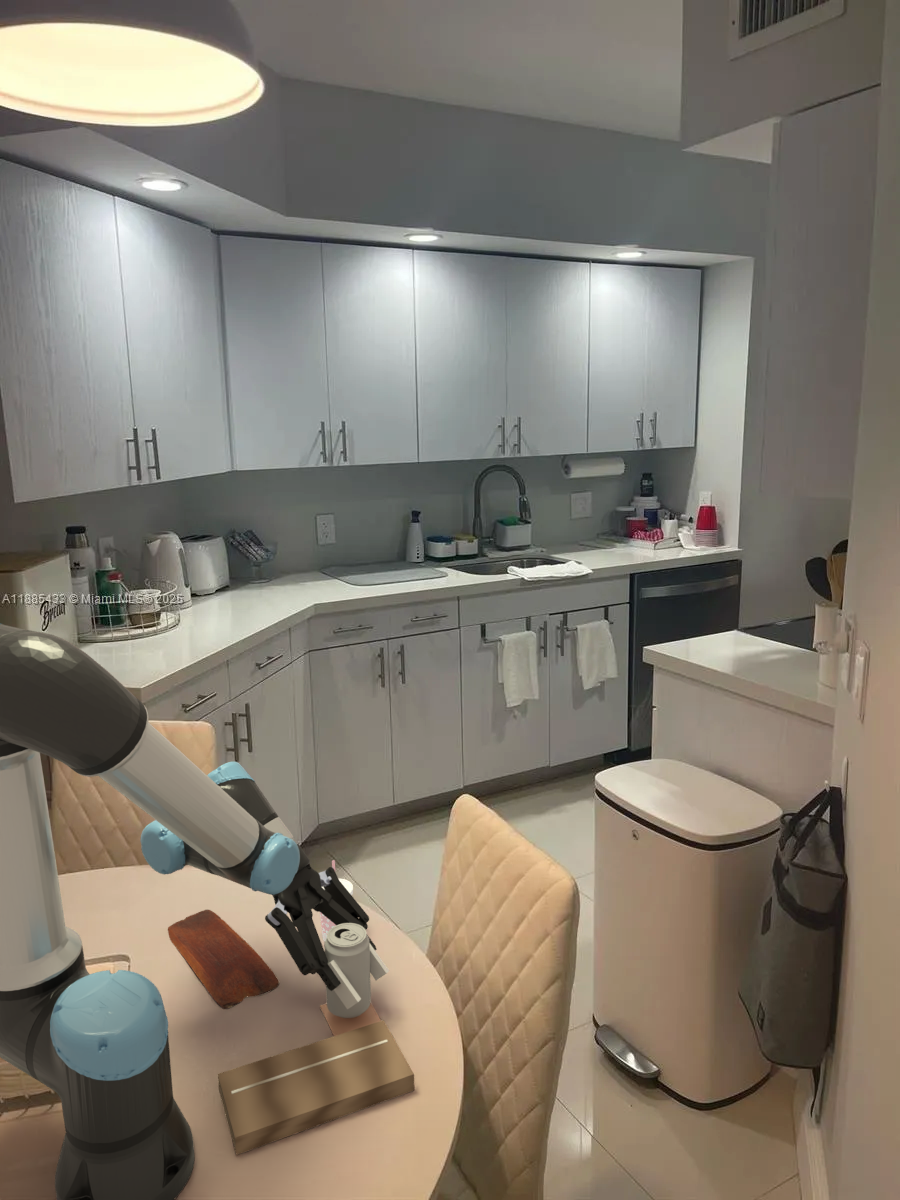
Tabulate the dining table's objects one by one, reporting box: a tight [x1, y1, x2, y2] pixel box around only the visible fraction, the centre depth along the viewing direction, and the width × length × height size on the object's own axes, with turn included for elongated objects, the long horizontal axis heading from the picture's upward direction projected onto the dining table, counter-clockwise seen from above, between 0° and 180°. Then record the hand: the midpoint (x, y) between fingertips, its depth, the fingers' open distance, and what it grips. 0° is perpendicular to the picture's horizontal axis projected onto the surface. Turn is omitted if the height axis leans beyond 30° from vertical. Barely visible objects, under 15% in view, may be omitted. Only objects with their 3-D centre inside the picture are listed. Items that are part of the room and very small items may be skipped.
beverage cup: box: [319, 859, 354, 942], centre depth 143 cm, size 6×6×14 cm
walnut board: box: [217, 1019, 415, 1156], centre depth 113 cm, size 23×11×3 cm, turn 115°
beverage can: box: [324, 923, 372, 1018], centre depth 125 cm, size 6×6×12 cm
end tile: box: [319, 1002, 382, 1037], centre depth 127 cm, size 7×7×1 cm
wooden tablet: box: [167, 909, 280, 1010], centre depth 141 cm, size 27×10×2 cm, turn 37°
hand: (368, 989), depth 124 cm, fingers closed on beverage can, 6 cm apart
